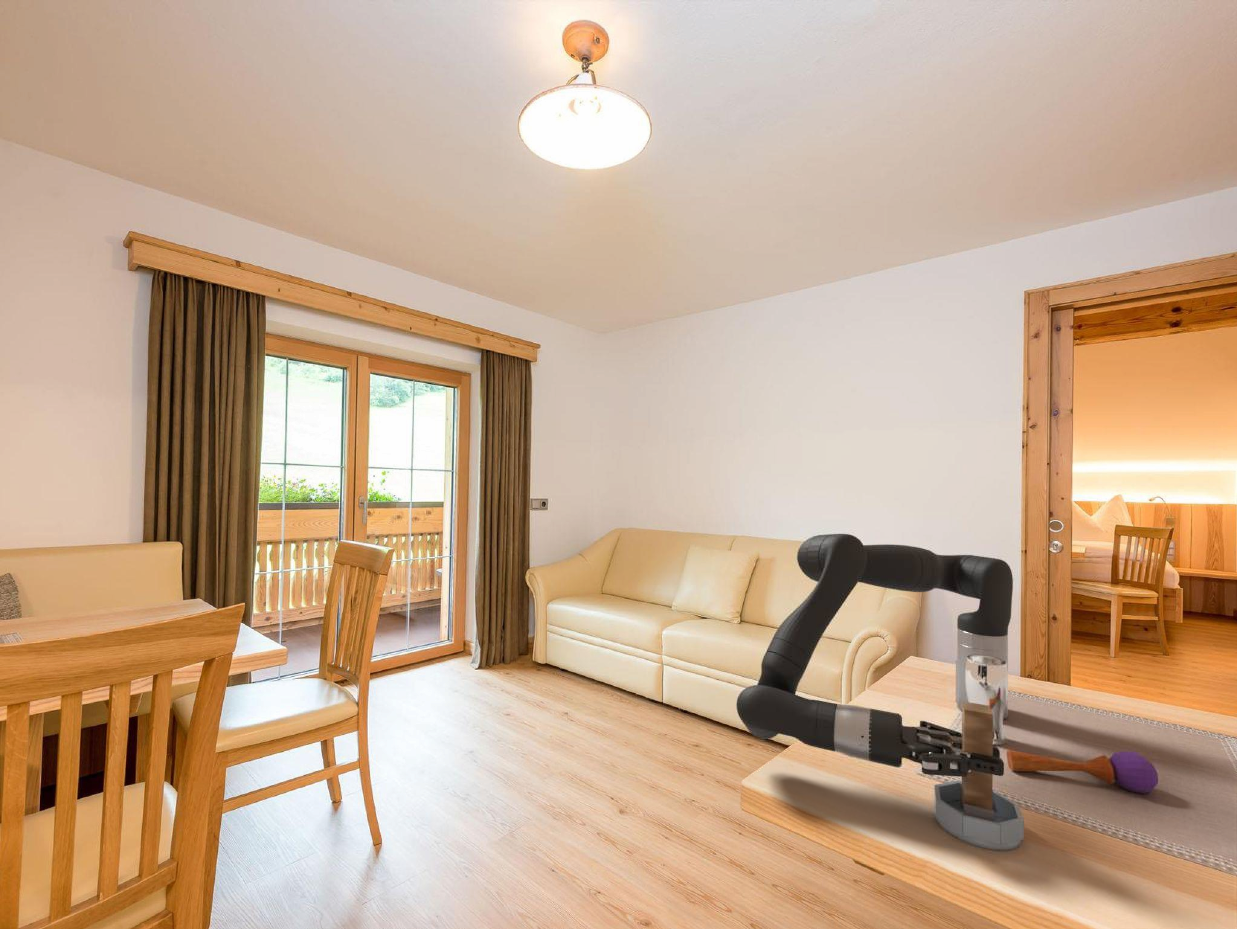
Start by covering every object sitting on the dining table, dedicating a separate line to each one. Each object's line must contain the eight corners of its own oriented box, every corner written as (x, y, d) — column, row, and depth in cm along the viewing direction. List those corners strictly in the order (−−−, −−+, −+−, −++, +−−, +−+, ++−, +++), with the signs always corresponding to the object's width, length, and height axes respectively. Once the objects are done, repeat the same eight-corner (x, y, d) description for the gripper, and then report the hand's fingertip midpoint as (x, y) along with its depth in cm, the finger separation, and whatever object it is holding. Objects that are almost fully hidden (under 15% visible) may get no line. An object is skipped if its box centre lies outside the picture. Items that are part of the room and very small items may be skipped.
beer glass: (969, 742, 107) (969, 662, 107) (961, 727, 113) (962, 652, 113) (1012, 749, 104) (1012, 667, 104) (1002, 733, 110) (1002, 656, 111)
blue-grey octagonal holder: (936, 835, 78) (937, 806, 78) (933, 798, 87) (933, 772, 87) (1028, 860, 73) (1028, 828, 73) (1014, 817, 82) (1014, 790, 83)
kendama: (1002, 737, 100) (1142, 749, 94) (1007, 774, 99) (1149, 788, 92) (1012, 745, 95) (1161, 758, 88) (1017, 784, 93) (1170, 800, 87)
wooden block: (963, 809, 79) (964, 709, 80) (961, 797, 83) (962, 701, 83) (992, 816, 78) (992, 714, 78) (988, 803, 81) (989, 705, 81)
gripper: (865, 727, 81) (1010, 756, 73) (870, 694, 93) (994, 716, 85) (864, 779, 81) (1009, 814, 73) (870, 739, 93) (994, 766, 85)
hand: (1000, 761), depth 79 cm, fingers closed on wooden block, 3 cm apart
